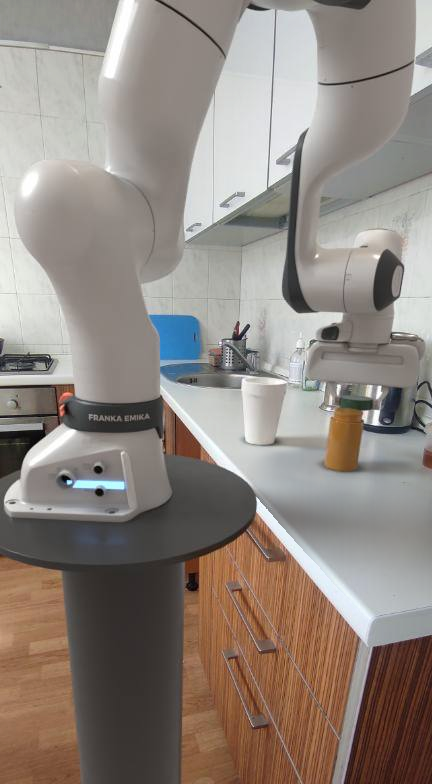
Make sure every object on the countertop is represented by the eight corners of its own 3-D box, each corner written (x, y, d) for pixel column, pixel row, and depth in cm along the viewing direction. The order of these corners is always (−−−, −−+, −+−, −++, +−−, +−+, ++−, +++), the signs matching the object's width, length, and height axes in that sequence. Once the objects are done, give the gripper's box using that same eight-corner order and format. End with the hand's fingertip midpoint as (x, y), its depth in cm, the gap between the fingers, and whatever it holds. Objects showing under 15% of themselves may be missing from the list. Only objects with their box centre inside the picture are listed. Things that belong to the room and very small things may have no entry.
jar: (331, 471, 85) (339, 414, 81) (319, 461, 90) (326, 407, 86) (362, 471, 86) (371, 414, 82) (348, 460, 91) (356, 407, 87)
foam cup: (232, 435, 104) (235, 377, 100) (270, 433, 107) (275, 376, 103) (248, 448, 96) (252, 385, 91) (288, 445, 99) (294, 384, 94)
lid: (373, 406, 91) (374, 397, 90) (371, 411, 86) (373, 401, 85) (341, 403, 93) (342, 394, 92) (337, 408, 88) (338, 398, 87)
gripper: (426, 334, 84) (412, 409, 89) (313, 328, 90) (306, 399, 95) (428, 335, 78) (413, 416, 83) (307, 329, 85) (299, 405, 90)
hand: (355, 407), depth 89 cm, fingers closed on lid, 6 cm apart
